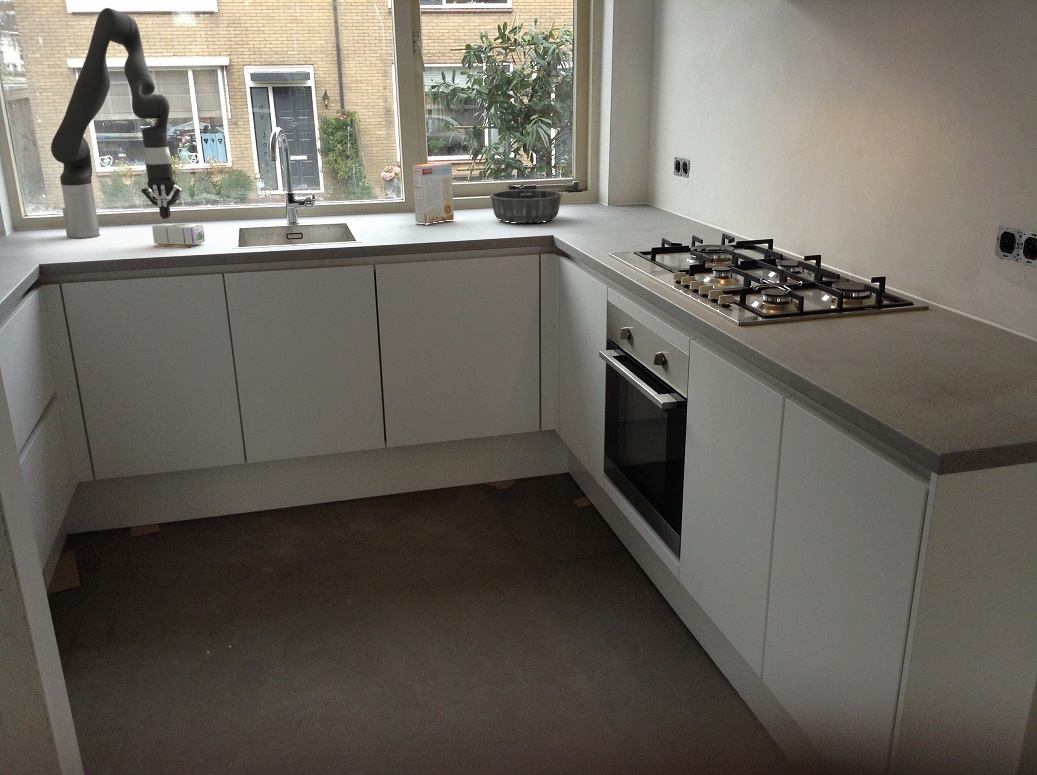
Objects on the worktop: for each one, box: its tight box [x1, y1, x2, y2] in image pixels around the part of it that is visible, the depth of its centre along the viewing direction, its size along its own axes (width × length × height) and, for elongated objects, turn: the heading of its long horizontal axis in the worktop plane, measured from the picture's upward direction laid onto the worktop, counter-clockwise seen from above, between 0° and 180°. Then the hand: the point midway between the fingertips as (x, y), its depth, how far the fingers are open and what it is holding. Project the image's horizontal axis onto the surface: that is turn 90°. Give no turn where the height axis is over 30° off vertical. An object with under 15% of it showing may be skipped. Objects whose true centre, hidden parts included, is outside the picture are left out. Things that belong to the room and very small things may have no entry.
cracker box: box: [412, 162, 455, 224], centre depth 324 cm, size 14×6×21 cm, turn 136°
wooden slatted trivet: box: [153, 244, 194, 248], centre depth 287 cm, size 12×12×1 cm
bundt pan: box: [489, 189, 563, 224], centre depth 329 cm, size 26×26×10 cm
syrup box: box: [151, 223, 206, 246], centre depth 285 cm, size 6×6×14 cm
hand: (166, 218), depth 285 cm, fingers closed
